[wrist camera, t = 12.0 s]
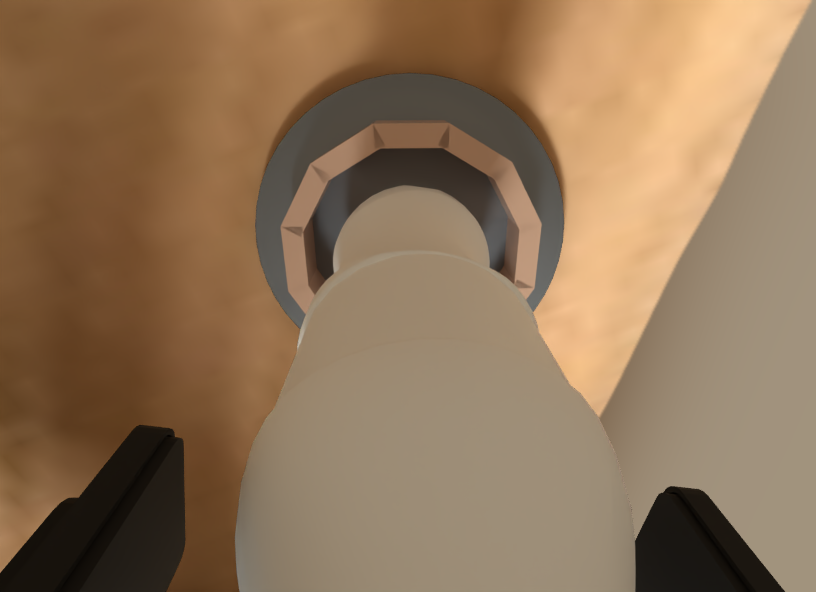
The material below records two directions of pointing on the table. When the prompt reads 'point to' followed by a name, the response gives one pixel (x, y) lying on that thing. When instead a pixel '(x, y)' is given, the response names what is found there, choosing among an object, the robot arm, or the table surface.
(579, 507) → the water bottle
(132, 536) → the robot arm
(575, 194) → the table surface
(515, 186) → the ring plate
